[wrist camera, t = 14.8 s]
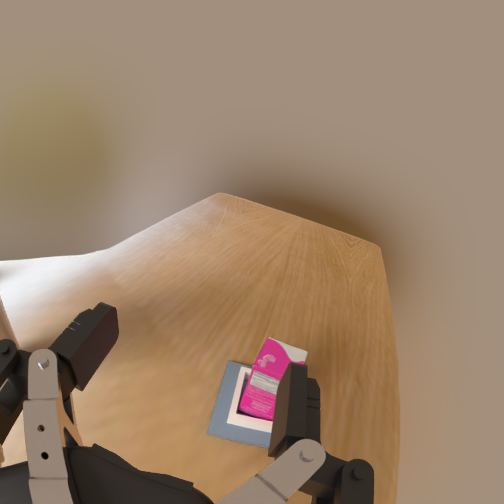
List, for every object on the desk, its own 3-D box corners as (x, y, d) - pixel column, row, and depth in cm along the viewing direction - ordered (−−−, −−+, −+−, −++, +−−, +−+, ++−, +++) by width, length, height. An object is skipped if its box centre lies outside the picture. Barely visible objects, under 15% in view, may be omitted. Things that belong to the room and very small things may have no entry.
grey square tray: (206, 434, 32) (208, 425, 31) (227, 364, 45) (230, 352, 44) (304, 453, 32) (312, 445, 31) (307, 382, 44) (313, 372, 43)
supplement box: (250, 384, 41) (268, 334, 36) (285, 398, 40) (311, 351, 34) (235, 411, 36) (252, 364, 31) (273, 427, 35) (300, 383, 29)
